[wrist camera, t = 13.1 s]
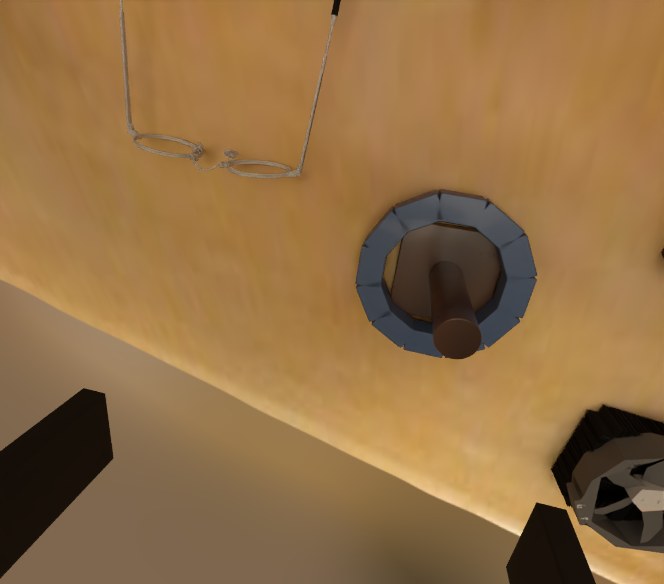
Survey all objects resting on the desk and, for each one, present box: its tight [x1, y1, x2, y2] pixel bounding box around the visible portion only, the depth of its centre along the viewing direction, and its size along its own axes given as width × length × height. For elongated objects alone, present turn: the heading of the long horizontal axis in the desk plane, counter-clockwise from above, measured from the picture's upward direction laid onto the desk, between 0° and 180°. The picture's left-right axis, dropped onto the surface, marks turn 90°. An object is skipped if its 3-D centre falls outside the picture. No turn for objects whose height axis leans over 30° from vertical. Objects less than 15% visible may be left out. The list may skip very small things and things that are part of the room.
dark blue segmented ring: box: [356, 189, 537, 358], centre depth 31 cm, size 13×13×2 cm
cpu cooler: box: [552, 405, 664, 553], centre depth 33 cm, size 10×6×10 cm
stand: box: [391, 223, 501, 359], centre depth 27 cm, size 8×8×12 cm
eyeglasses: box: [120, 0, 341, 178], centre depth 27 cm, size 16×19×5 cm
